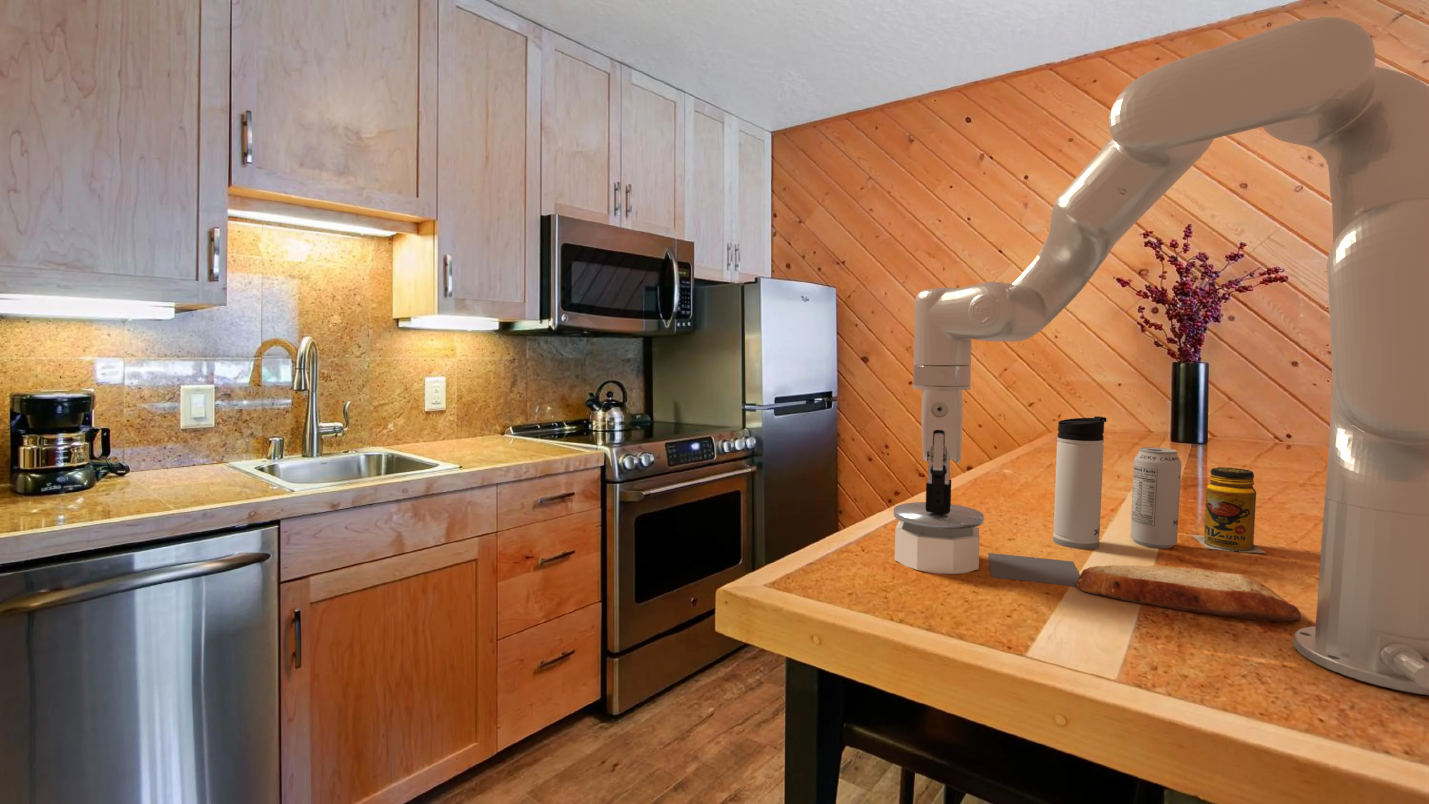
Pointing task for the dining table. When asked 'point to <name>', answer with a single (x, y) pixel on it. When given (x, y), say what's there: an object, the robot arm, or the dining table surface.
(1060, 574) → the mat
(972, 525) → the lid
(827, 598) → the dining table surface
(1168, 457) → the energy drink can
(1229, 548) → the condiment
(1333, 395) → the robot arm
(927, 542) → the bowl
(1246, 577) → the bread slice
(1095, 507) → the travel mug
